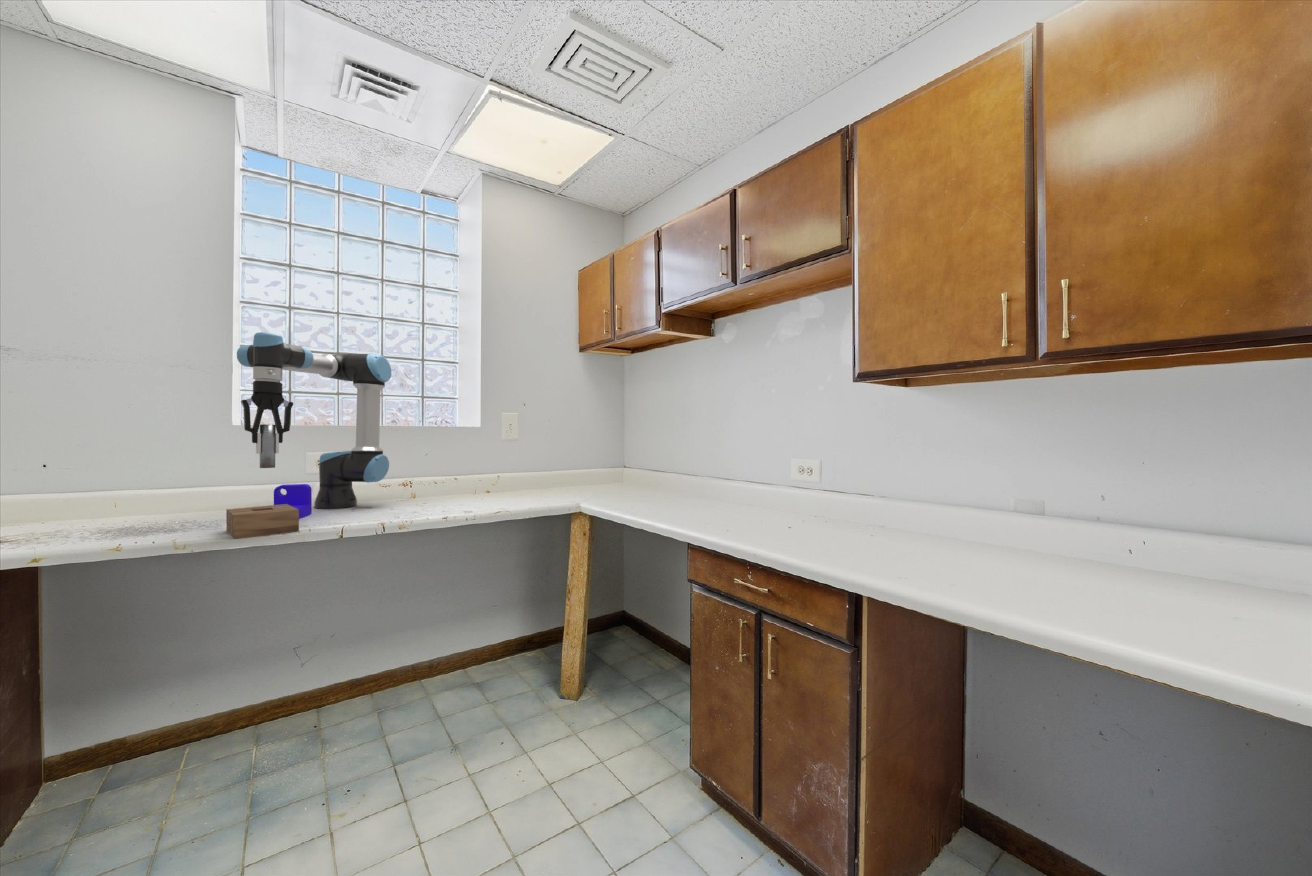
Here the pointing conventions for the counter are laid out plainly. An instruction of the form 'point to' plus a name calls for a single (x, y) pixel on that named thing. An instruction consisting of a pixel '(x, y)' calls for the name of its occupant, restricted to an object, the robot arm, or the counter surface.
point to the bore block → (262, 520)
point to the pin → (267, 446)
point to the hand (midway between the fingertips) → (267, 453)
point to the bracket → (295, 497)
